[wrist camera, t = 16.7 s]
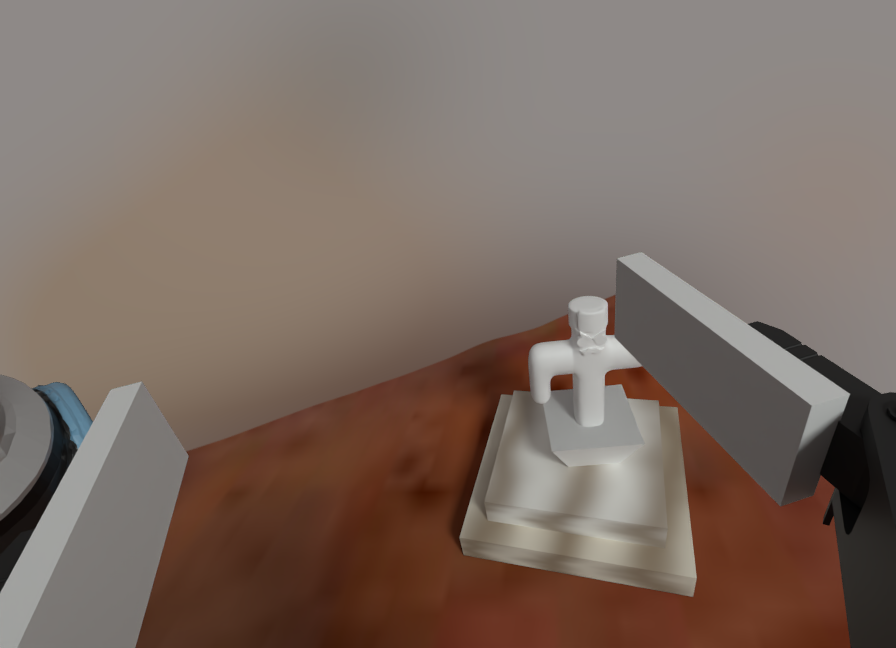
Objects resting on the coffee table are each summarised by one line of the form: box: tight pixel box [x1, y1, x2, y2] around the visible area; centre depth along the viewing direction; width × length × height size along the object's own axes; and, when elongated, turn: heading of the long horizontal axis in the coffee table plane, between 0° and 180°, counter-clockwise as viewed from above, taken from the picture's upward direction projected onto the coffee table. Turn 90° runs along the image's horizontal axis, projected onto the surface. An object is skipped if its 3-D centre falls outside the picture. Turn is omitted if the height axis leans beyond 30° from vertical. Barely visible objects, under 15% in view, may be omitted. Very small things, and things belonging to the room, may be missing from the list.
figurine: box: [528, 296, 645, 467], centre depth 41 cm, size 7×9×15 cm
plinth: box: [459, 391, 697, 597], centre depth 46 cm, size 18×18×5 cm
